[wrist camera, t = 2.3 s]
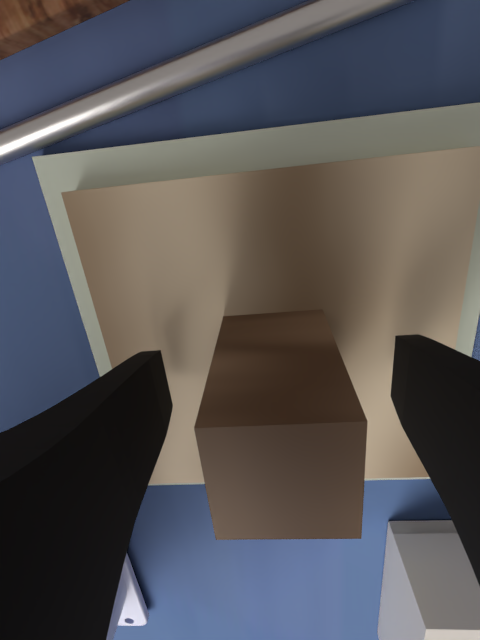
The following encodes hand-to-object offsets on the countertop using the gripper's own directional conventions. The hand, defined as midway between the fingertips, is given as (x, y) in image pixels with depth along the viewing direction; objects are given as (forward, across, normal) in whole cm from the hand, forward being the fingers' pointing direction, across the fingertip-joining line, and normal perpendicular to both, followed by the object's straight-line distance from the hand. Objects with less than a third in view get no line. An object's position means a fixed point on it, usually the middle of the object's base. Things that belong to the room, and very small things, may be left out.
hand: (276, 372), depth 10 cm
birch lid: (+2, 0, 0) cm, 2 cm away
